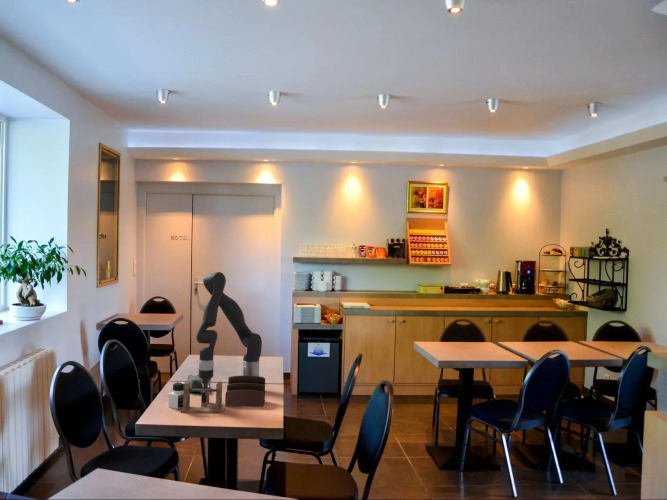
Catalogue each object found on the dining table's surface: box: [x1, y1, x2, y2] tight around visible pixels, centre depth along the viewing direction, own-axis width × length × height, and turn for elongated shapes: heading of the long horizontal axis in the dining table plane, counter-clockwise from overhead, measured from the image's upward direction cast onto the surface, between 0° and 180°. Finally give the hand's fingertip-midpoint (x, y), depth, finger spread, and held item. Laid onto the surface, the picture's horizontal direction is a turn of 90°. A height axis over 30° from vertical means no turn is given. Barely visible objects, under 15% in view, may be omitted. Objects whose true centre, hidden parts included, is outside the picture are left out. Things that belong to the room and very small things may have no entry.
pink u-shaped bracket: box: [200, 391, 210, 407], centre depth 267 cm, size 3×6×7 cm, turn 2°
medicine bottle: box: [168, 381, 185, 410], centre depth 262 cm, size 7×7×12 cm
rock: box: [186, 373, 203, 393], centre depth 294 cm, size 18×11×8 cm, turn 25°
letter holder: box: [224, 374, 266, 408], centre depth 271 cm, size 10×20×14 cm, turn 93°
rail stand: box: [180, 380, 225, 414], centre depth 256 cm, size 20×6×14 cm, turn 92°
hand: (205, 400), depth 267 cm, fingers open, 6 cm apart
